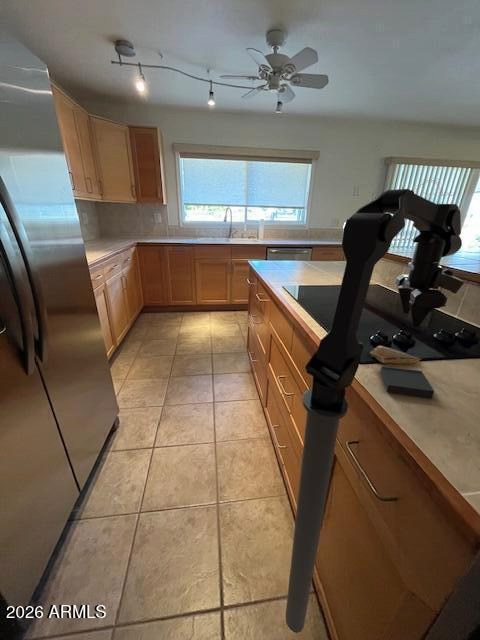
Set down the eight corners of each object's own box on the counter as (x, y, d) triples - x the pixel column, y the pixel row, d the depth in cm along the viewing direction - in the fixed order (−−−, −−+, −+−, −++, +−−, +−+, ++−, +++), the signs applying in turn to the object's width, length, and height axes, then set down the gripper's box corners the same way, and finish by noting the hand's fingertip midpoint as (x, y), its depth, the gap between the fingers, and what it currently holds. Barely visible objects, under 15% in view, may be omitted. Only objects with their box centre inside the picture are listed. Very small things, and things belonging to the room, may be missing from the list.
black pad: (386, 392, 60) (388, 384, 59) (379, 372, 67) (381, 365, 66) (431, 398, 57) (434, 391, 57) (419, 377, 64) (421, 370, 64)
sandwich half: (420, 363, 70) (422, 357, 69) (410, 375, 65) (412, 369, 65) (379, 348, 78) (380, 343, 77) (367, 358, 73) (368, 352, 72)
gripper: (486, 270, 53) (462, 339, 59) (448, 254, 69) (433, 309, 75) (423, 268, 56) (406, 333, 62) (401, 253, 72) (390, 306, 78)
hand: (410, 319), depth 69 cm, fingers open, 9 cm apart
